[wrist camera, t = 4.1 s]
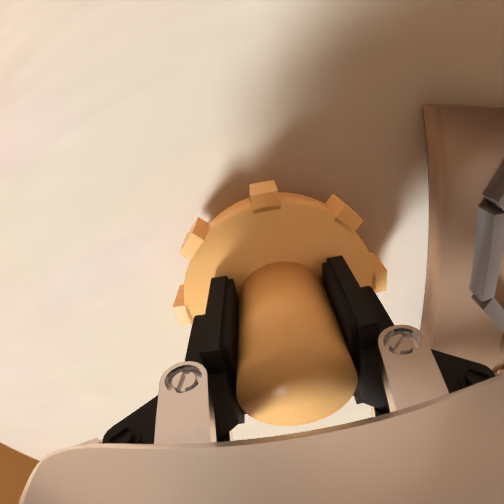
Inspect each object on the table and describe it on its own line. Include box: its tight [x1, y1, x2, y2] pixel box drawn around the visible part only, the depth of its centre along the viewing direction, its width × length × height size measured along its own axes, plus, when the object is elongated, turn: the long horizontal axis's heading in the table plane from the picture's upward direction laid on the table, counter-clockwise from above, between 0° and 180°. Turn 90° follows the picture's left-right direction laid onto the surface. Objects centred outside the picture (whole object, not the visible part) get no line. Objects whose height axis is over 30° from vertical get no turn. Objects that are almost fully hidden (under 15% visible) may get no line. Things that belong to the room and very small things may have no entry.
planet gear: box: [173, 180, 387, 426], centre depth 11 cm, size 8×8×6 cm
